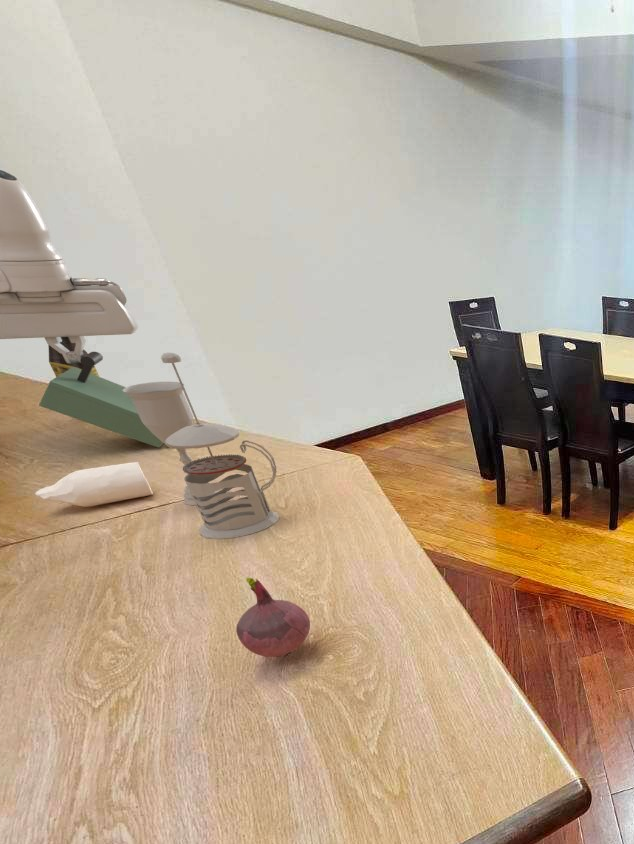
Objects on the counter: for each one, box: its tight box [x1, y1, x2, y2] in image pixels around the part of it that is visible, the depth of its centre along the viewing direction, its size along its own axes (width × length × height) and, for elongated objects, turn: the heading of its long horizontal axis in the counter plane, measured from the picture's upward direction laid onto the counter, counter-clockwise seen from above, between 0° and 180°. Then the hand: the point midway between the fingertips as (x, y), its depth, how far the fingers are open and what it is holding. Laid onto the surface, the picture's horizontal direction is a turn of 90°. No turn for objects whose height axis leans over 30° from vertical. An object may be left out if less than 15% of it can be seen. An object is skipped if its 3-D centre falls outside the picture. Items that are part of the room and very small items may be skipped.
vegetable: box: [235, 577, 311, 658], centre depth 61 cm, size 6×6×10 cm
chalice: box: [123, 381, 220, 506], centre depth 91 cm, size 7×7×18 cm
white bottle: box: [34, 461, 154, 508], centre depth 91 cm, size 6×12×6 cm, turn 136°
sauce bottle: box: [47, 337, 100, 378], centre depth 123 cm, size 7×6×20 cm
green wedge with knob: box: [38, 351, 164, 449], centre depth 111 cm, size 16×12×10 cm
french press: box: [160, 352, 280, 540], centre depth 83 cm, size 10×12×25 cm
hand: (77, 362), depth 106 cm, fingers closed
